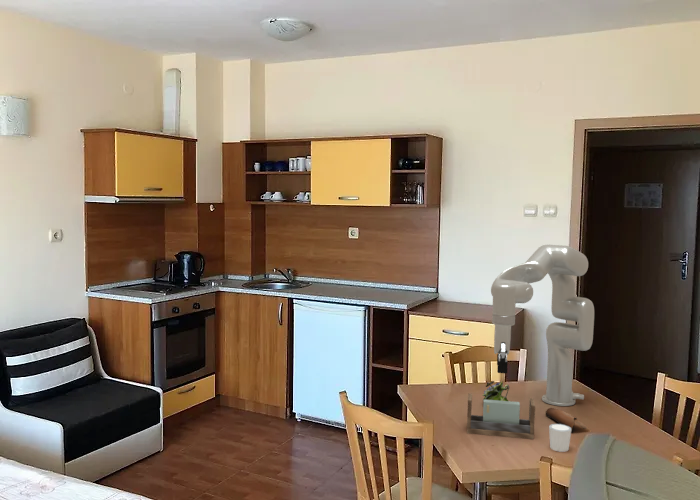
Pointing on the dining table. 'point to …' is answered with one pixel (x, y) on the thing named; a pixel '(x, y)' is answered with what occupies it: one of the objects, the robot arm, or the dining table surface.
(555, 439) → the white cup
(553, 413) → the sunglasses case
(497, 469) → the dining table surface
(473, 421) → the wooden book rack
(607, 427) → the dining table surface
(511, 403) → the pale green box
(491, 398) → the passion flower
